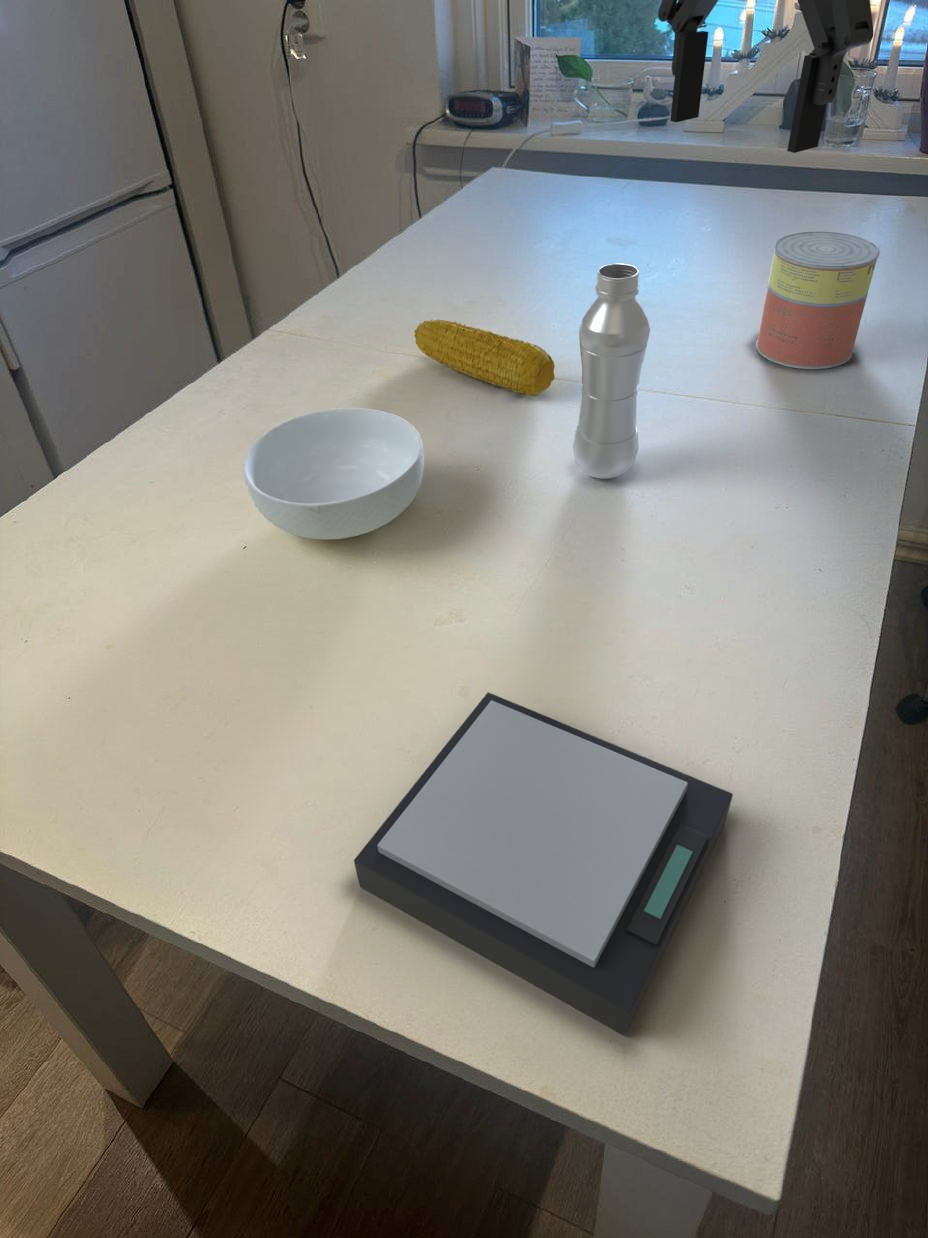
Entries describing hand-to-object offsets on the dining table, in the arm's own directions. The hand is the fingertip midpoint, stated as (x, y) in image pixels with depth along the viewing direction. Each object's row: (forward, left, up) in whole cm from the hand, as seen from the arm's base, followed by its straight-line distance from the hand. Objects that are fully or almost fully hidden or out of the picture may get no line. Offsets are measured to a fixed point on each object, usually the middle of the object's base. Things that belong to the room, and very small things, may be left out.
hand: (739, 133), depth 75 cm
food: (+27, -1, -29) cm, 40 cm away
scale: (-11, +54, -29) cm, 62 cm away
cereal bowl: (+24, +30, -29) cm, 48 cm away
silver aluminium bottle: (+5, +11, -29) cm, 32 cm away
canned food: (-5, -25, -29) cm, 38 cm away
